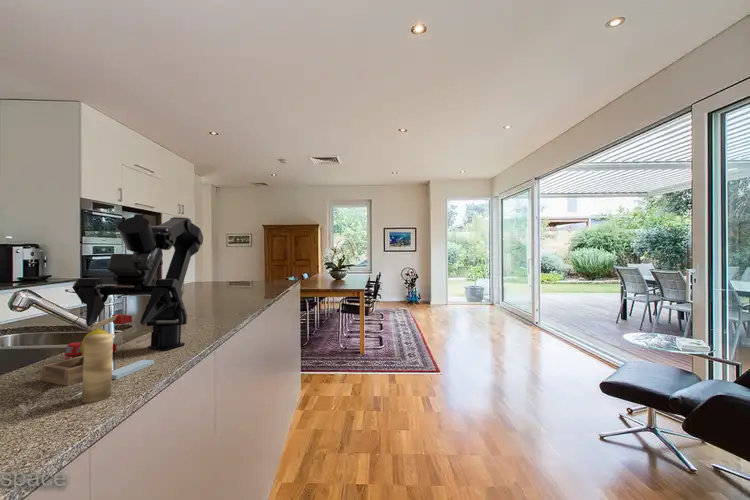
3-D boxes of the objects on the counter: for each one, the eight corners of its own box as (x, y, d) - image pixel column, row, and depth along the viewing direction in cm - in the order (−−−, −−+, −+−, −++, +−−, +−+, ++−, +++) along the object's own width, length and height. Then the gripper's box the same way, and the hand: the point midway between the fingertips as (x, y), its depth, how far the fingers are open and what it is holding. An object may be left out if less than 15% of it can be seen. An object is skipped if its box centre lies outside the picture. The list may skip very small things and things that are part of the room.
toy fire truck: (61, 363, 78) (63, 321, 78) (122, 348, 91) (123, 312, 91) (71, 365, 77) (73, 322, 77) (131, 349, 90) (132, 313, 90)
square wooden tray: (83, 368, 75) (84, 355, 75) (108, 373, 72) (108, 359, 72) (41, 380, 67) (42, 365, 67) (67, 385, 65) (68, 370, 65)
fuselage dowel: (100, 391, 63) (102, 332, 63) (116, 394, 62) (118, 334, 62) (76, 400, 59) (78, 337, 59) (92, 403, 58) (94, 339, 58)
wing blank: (142, 363, 79) (142, 359, 79) (153, 363, 79) (154, 360, 79) (103, 378, 69) (103, 374, 69) (116, 379, 69) (116, 375, 69)
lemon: (93, 367, 75) (95, 332, 75) (73, 365, 76) (75, 330, 77) (117, 360, 81) (118, 327, 81) (98, 358, 82) (99, 325, 82)
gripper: (80, 239, 69) (37, 299, 58) (180, 242, 74) (158, 299, 63) (100, 275, 77) (66, 334, 66) (189, 276, 81) (171, 332, 70)
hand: (115, 324), depth 66 cm, fingers open, 9 cm apart
